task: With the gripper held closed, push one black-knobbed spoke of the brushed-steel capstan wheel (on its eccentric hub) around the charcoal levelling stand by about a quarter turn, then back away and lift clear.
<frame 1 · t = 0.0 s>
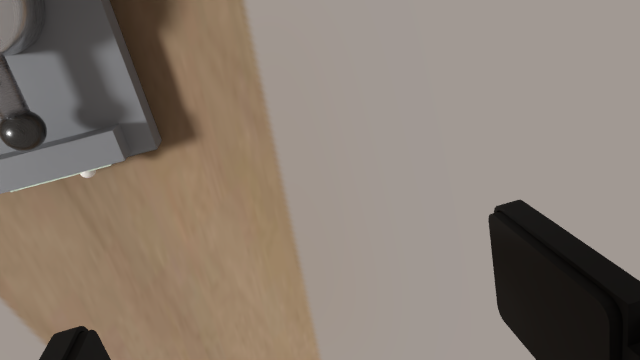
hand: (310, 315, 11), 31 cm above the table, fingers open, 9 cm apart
stand: (19, 28, 35), on the table
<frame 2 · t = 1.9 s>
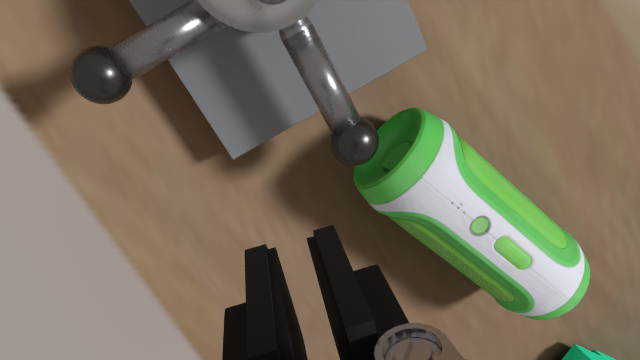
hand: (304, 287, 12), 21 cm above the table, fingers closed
speaker: (450, 198, 37), on the table
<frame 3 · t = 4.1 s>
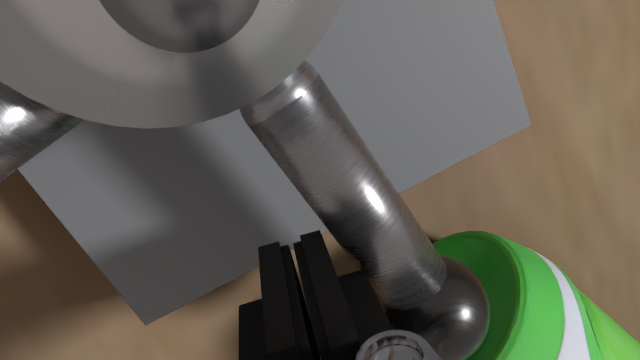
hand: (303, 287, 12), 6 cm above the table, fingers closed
speaker: (527, 347, 22), on the table
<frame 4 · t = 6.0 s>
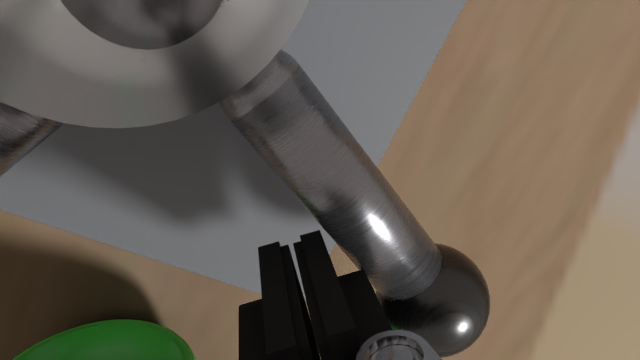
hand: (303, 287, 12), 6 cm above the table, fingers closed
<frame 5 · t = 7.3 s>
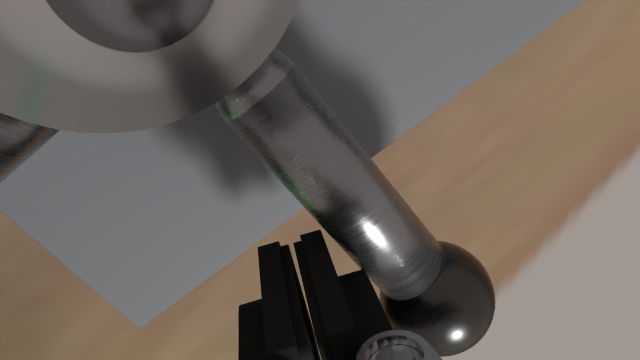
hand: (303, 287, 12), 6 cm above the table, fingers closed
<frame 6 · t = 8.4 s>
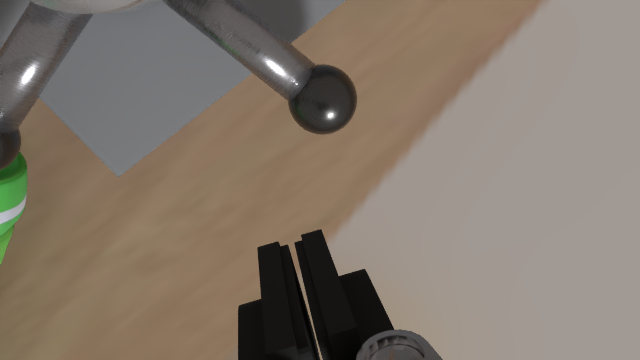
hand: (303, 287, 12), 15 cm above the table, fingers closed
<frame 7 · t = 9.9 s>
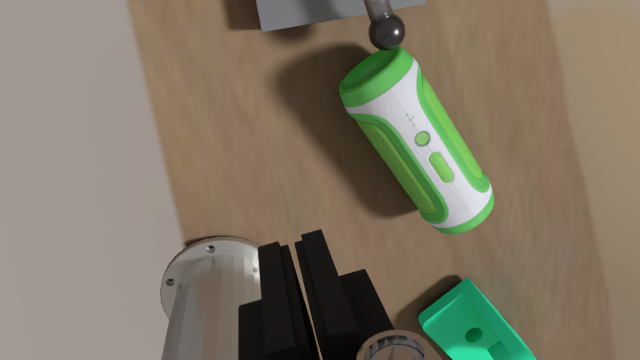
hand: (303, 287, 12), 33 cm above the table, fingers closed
speaker: (405, 132, 47), on the table
camera mount: (463, 319, 57), on the table
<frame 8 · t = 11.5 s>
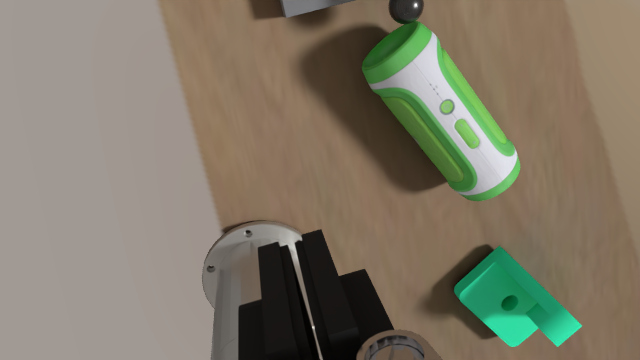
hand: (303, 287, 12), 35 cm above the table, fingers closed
speaker: (427, 107, 49), on the table
camera mount: (497, 289, 58), on the table
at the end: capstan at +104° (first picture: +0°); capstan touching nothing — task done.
